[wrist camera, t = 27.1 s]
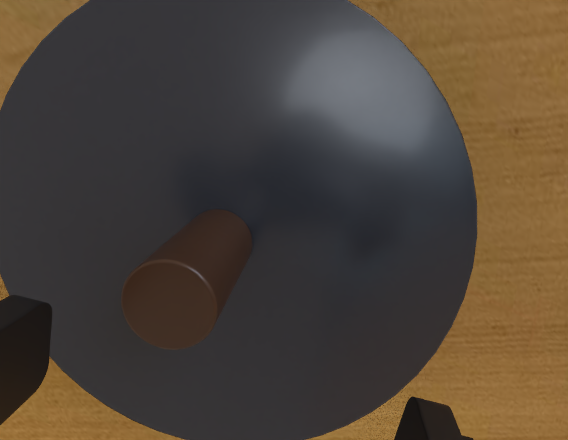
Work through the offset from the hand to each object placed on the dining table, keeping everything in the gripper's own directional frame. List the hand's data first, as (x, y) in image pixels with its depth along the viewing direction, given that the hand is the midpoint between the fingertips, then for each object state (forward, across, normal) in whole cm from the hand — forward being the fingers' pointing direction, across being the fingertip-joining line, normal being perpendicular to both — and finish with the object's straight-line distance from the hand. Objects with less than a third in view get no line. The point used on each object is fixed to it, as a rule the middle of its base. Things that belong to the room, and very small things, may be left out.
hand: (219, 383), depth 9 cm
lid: (+7, +2, -1) cm, 7 cm away
